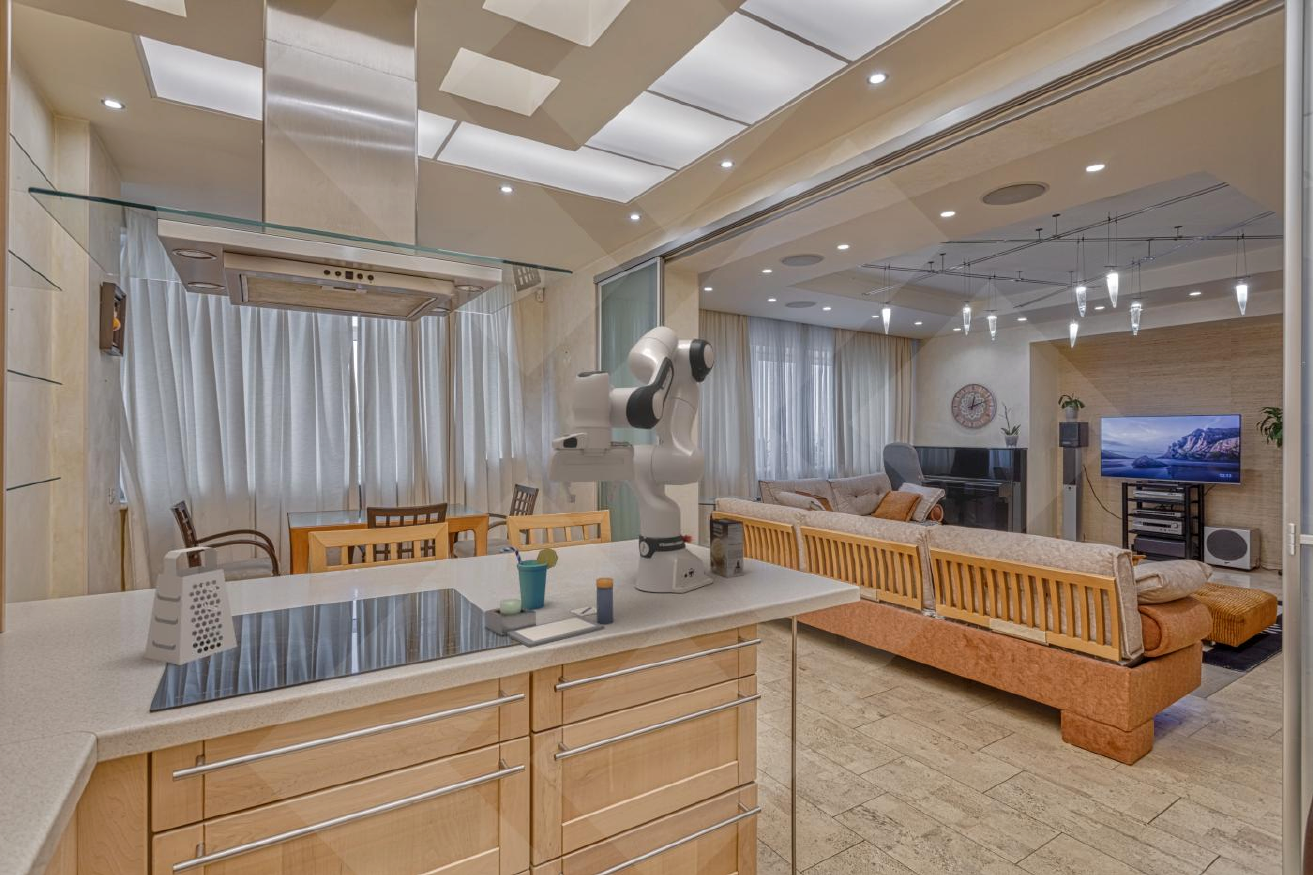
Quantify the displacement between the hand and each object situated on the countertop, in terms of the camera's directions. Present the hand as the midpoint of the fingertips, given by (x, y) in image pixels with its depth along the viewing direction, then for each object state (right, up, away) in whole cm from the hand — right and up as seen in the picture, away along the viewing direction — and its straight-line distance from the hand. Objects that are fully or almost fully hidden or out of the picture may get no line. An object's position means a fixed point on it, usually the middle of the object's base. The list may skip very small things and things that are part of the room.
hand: (591, 501), depth 141 cm
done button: (-17, -25, -7) cm, 31 cm away
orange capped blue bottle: (+3, -27, -3) cm, 27 cm away
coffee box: (+36, -26, +44) cm, 63 cm away
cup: (-16, -27, +10) cm, 33 cm away
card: (-2, -27, +5) cm, 27 cm away
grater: (-76, -27, -21) cm, 83 cm away
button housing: (-17, -27, -7) cm, 32 cm away
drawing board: (-6, -27, -10) cm, 29 cm away
